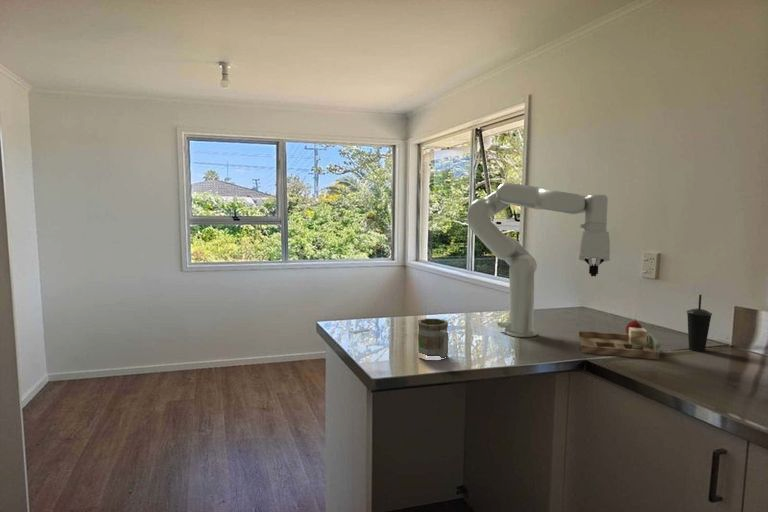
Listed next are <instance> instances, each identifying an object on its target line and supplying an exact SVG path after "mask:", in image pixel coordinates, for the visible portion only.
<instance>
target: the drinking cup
mask: <svg viewBox="0 0 768 512" xmlns="http://www.w3.org/2000/svg"><path fill="white" fill-rule="evenodd" d="M686 313H687V332H688V333H687V334H688V349H689V350H691V351H694V352H699V353H700V352H705V351H706V348H707V342H708V335H709V331H710V324H711V318H712V316H713V313H712V312H710V311H708V310H706V309H703V308H702V294H699V295H698V308H691V309H688V310H686Z"/></svg>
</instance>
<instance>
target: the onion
mask: <svg viewBox="0 0 768 512" xmlns="http://www.w3.org/2000/svg"><path fill="white" fill-rule="evenodd" d="M629 327H632V328H643V326H642V324H640V323H639V322H638V321H637V319H636V318H633V319H632V321H630V322H628V323H627V325H626V327H625V334H629Z"/></svg>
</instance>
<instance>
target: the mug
mask: <svg viewBox="0 0 768 512" xmlns="http://www.w3.org/2000/svg"><path fill="white" fill-rule="evenodd" d="M417 324H418V326H417V327H418V331H417V332H418V334H417V342H418V344H417V345H418V346H417V347H418V349H417V350H418V351H419V353H422V354H425V355H427V356H440V357H441V358H445V357H448V355H449V340H450V339H449V338H450V337H449V333H448V327H449V323H448V320H445V319H441V318H424V319H419V320H417ZM418 351H417V352H418Z"/></svg>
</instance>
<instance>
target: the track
mask: <svg viewBox="0 0 768 512" xmlns="http://www.w3.org/2000/svg"><path fill="white" fill-rule="evenodd" d="M578 331H579V332H578V345H579V348H580V351H581V353H583V354H590V353H592V355H593V354H594V355H601V356H602V355H603V356H613V357H626V358H635V359H636V358H638V359H647V360H648V359H650V360H660V350H661V343H660V342H659V341H658V340H657V339H656V337H655V336H654V335H653V334H652V333H651V332H647V346H644V345H632V344H630V343H629V341H628V336H629V334H627V333H620V332H619V333H618V332H617V333H615V332H605V331H603V332H602V331H592V330H591V331H590V330H578Z"/></svg>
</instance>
